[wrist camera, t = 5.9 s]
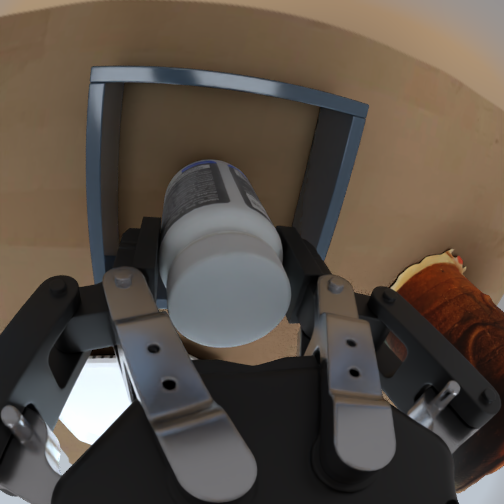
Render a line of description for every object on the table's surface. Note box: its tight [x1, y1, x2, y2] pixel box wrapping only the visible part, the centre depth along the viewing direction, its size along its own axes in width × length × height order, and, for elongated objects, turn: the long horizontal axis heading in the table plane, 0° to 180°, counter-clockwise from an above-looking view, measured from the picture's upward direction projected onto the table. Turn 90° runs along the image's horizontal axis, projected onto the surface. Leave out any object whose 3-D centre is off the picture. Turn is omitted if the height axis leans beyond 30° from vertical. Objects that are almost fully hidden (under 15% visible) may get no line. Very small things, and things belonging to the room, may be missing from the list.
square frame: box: [86, 66, 369, 309], centre depth 18 cm, size 14×14×4 cm
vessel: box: [384, 249, 504, 493], centre depth 22 cm, size 14×14×20 cm
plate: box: [59, 354, 200, 445], centre depth 30 cm, size 21×21×2 cm
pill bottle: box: [158, 159, 291, 347], centre depth 13 cm, size 5×5×8 cm
